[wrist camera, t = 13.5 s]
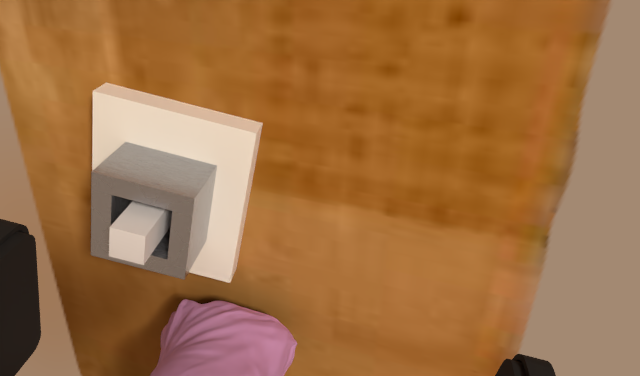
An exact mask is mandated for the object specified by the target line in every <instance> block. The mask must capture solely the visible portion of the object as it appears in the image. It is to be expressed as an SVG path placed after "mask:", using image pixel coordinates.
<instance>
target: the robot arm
mask: <svg viewBox="0 0 640 376" xmlns="http://www.w3.org/2000/svg"><path fill="white" fill-rule="evenodd" d="M36 259H37V258H36V242H35V238H34V236H33V235H29V232H28V229H27V227H26V226H24V225H21V224H18V223H14V222H10V221H6V220H2V219H0V376H15V375H16V373H17V372H18V371H19V370H20V368H21V367H22V366H23V365H24V363H25V362H26V361H27V360H28V358H29V357H30V356H31V355H32V353H33V352H34V350H35V349H36V347H37V345H38V343H39V340H40V336H41V330H40V329H41V327H40V312H39V311H40V310H39V293H38V276H37V260H36ZM495 376H556V375H555V372H554V369H553V367H552V365H551V364H550V363H549V362H548V361H545V360H541V359H537V358H533V357H529V356H525V355H522V354H517V355H516V356H515V357H514V358H513V359H512V360H510V359H506V360H504V362H503V363H502V365H501V366H500V368H499V370H498V372H497V374H496V375H495Z"/></svg>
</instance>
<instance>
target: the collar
mask: <svg viewBox="0 0 640 376" xmlns="http://www.w3.org/2000/svg"><path fill="white" fill-rule="evenodd" d="M216 170H217V165H213V164H209V163H205V162H202V161H198V160H194V159H190V158H186V157H182V156H179V155H175V154H171V153H167V152H163V151H159V150H156V149H152V148H148V147H144V146H140V145H137V144H133V143H129V142H125V143H124V144H122V145H121V146H120V147H119V148H118V149H117V150H116V151H115V152H113V153H112V154H111V155H110V156H109V157H108V158H107V159H105V160H104V161H103V162H102V163H101V164H100V165H99V166H98V167H96V168H95V169H94V170H93V171H92V180H91V255H92V256H96V257H100V258H104V259H108V260H111V261H115V262H119V263H123V264H127V265H131V266H134V267H138V268H142V269H146V270H150V271H153V272H157V273H161V274H165V275H169V276H173V277H176V278H180V279H184V280H185V278H186V276H187V275H188V273H189V271H190V269H191V267H192V266H193V264H194V262H195V260H196V258H197V257H198V255H199V253H200V251H201V250H202V248H203V246H204V244H205V242H206V240H207V233H208V226H209V219H210V212H211V205H212V198H213V191H214V184H215V177H216ZM132 201H136V202H140V203H144V204H148V205H152V206H156V207H159V208H163V209H167V210H171V211H172V219H171V226H170V228H169V229H168V231H167V232H166V234H165V235H164V237H163V238H162V239H161V241H160V242H159V244H158V245H157V247H156V248H155V249H154V251H153V252H152V254H151V255H150V257H149V258H148V260H147V261H146V262H145V264H144V265H141V264H137V263H133V262H129V261H125V260H121V259H118V258H114V257H110V256H109V232H110V226H111V225H112V224H113V223H114V222H115V221H116V219H117V218H118V217H119V216H120V215H121V214H122V213H123V211H124V210H125V209H126V208H127V207H128V206H129V205H130V204H131V202H132Z"/></svg>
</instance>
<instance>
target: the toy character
mask: <svg viewBox="0 0 640 376" xmlns="http://www.w3.org/2000/svg"><path fill="white" fill-rule="evenodd" d="M296 345H297V342H296V341H295V340H294V338H293V336H292V334H291V333H290V332H289V330H288V329H287V328H286V327H285V326H284V325H283V324H281V323H280V322H279V320H278V319H276V318H274V317H272V316H270V315H267V314H264V313H260V312H258V311H253V310H250V309H248V308H245V307H241V306H238V305H235V304H233V303H229V302H226V301H212V302H209V303H206V304H199V303H197V302H195V301H192V300H187V299H184V300H183V301H182V302H181V303H180V304H179V306H178V308H177V311H175V312H173V313H172V314H171V316H170V319H169V322H168V324H167V325H166V326H165V327H164V329H163V330H162V332H161V353H160V357H159V361H158V365H157V366H156V368H155V369H154V370H153V372H152V373H151V375H150V376H284V374H285V372H286V370H287V369H288V368H289V366H290V365H291V363H292V361H293V358H294V353H295V347H296Z"/></svg>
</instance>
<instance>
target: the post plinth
mask: <svg viewBox="0 0 640 376" xmlns="http://www.w3.org/2000/svg"><path fill="white" fill-rule="evenodd" d="M262 125H263V123H260V122H256V121H253V120H249V119H245V118H241V117H237V116H233V115H229V114H226V113H222V112H218V111H214V110H210V109H206V108H202V107H199V106H195V105H191V104H187V103H183V102H179V101H175V100H172V99H168V98H164V97H160V96H156V95H152V94H148V93H145V92H141V91H137V90H133V89H129V88H125V87H121V86H118V85H114V84H110V83H105V84H103V85H102V86H100V87H98V88H97V89H95V90H94V91H93V134H92V171H93V170H94V169H95V168H96V167H98V166H99V165H100V164H101V163H102V162H103V161H104V160H105V159H107V158H108V157H109V156H110V155H111V154H112V153H113V152H115V151H116V150H117V149H118V148H119V147H120V146H121V145H122V144H124V143H125V142H129V143H133V144H137V145H140V146H144V147H148V148H152V149H156V150H159V151H163V152H167V153H171V154H175V155H179V156H182V157H186V158H190V159H194V160H198V161H202V162H205V163H209V164H213V165H217V170H216V177H215V184H214V191H213V198H212V205H211V212H210V219H209V226H208V233H207V240H206V242H205V244H204V246H203V248H202V250H201V251H200V253H199V255H198V257H197V258H196V260H195V262H194V264H193V266H192V267H191V269H190V271H189V272H190V273H194V274H197V275H201V276H205V277H209V278H213V279H217V280H220V281H224V282H228V283H230V282H231V280H232V277H233V275H234V273H235V270H236V268H237V262H238V257H239V251H240V246H241V240H242V235H243V229H244V224H245V218H246V213H247V207H248V202H249V196H250V191H251V185H252V180H253V174H254V169H255V163H256V158H257V152H258V147H259V141H260V136H261V130H262ZM171 219H172V211H171V210H167V209H163V208H159V207H156V206H152V205H148V204H144V203H140V202H136V201H132V202H131V204H130V205H129V206H128V207H127V208H126V209H125V210H124V211H123V213H122V214H121V215H120V216H119V217H118V218H117V219H116V221H115V222H114V223H113V224H112V225H111V226H110V232H109V256H110V257H114V258H118V259H121V260H125V261H129V262H133V263H137V264H141V265H144V264H145V262H146V261H147V260H148V258H149V257H150V255H151V254H152V252H153V251H154V249H155V248H156V247H157V245H158V244H159V242H160V241H161V239H162V238H163V237H164V235H165V234H166V232H167V231H168V229H169V228H170V226H171Z"/></svg>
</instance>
